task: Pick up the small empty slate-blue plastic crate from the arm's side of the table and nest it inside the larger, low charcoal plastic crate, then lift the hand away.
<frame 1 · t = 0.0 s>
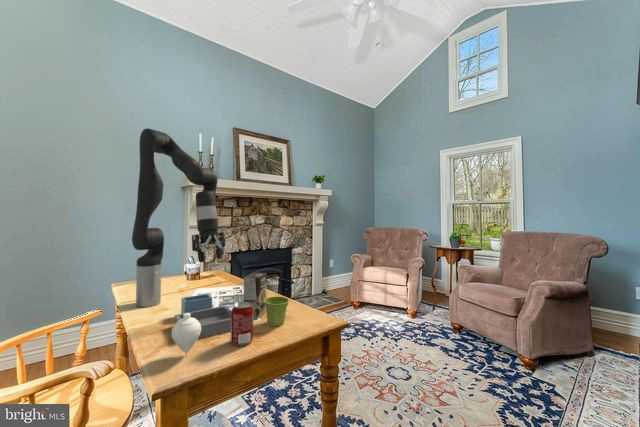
hand: (211, 260, 107), 22 cm above the table, tool pointing down, fingers open, 8 cm apart
spinning top: (186, 356, 79), on the table
small crate: (196, 315, 110), on the table
big crate: (206, 327, 98), on the table
soda can: (241, 342, 88), on the table
plant pot: (276, 323, 103), on the table
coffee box: (255, 315, 111), on the table
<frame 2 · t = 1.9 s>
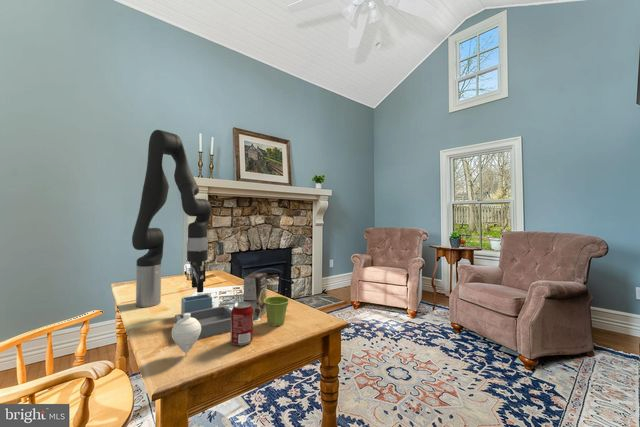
hand: (197, 289, 110), 10 cm above the table, tool pointing down, fingers open, 8 cm apart
nothing on the table moved.
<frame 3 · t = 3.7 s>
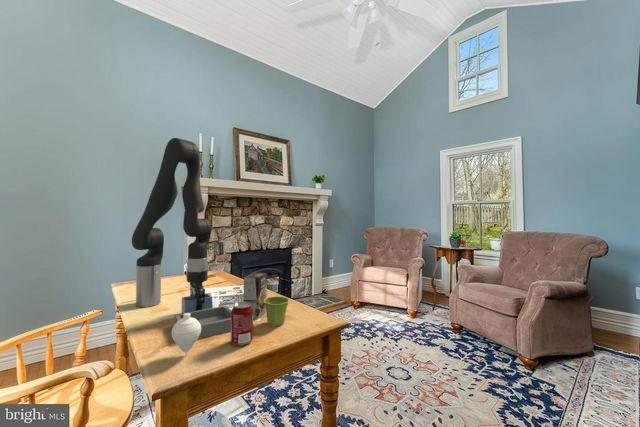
hand: (196, 311, 110), 1 cm above the table, tool pointing down, fingers closed on small crate, 6 cm apart
small crate: (196, 314, 110), on the table, touching gripper
everything else where it was.
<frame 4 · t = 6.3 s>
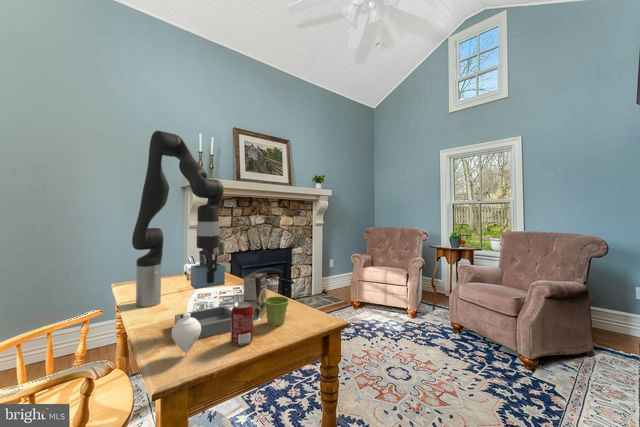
hand: (207, 281, 99), 16 cm above the table, tool pointing down, fingers closed on small crate, 6 cm apart
small crate: (207, 285, 99), point 15 cm above the table, touching gripper
everything else where it was.
when the fingers open (4 cm above the table, at t = 9.0 s): small crate drops 2 cm, resting on big crate.
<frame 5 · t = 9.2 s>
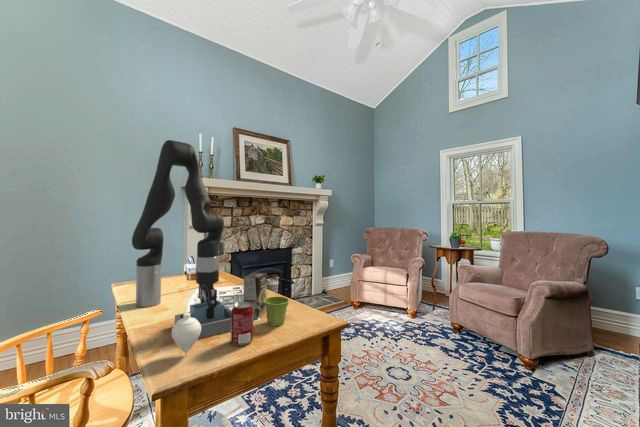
hand: (206, 314, 98), 5 cm above the table, tool pointing down, fingers open, 8 cm apart
small crate: (206, 324, 99), point 1 cm above the table, touching big crate
everything else where it was.
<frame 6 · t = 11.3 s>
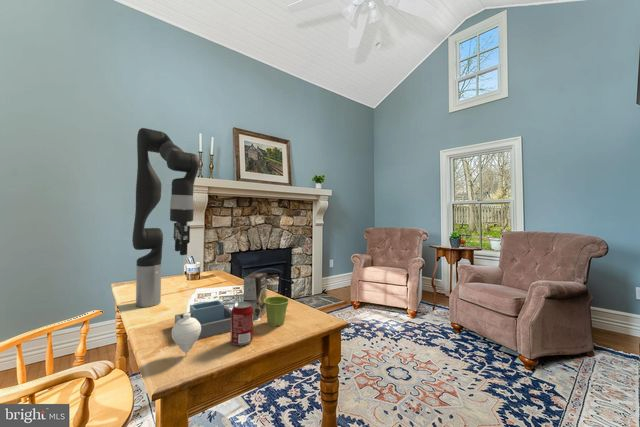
hand: (180, 252, 100), 26 cm above the table, tool pointing down, fingers open, 8 cm apart
nothing on the table moved.
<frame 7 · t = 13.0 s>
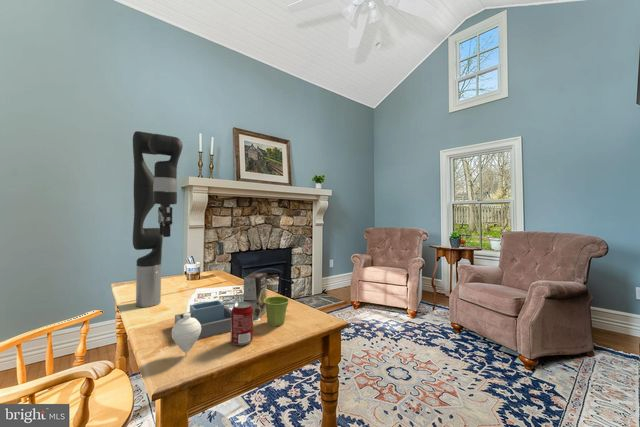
hand: (164, 235, 100), 32 cm above the table, tool pointing down, fingers open, 8 cm apart
nothing on the table moved.
at the end: small crate inside the target area on the big crate (0.1 cm from its centre), point 1.0 cm above the big crate's base; small crate tilted 0°; the gripper is holding nothing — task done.
